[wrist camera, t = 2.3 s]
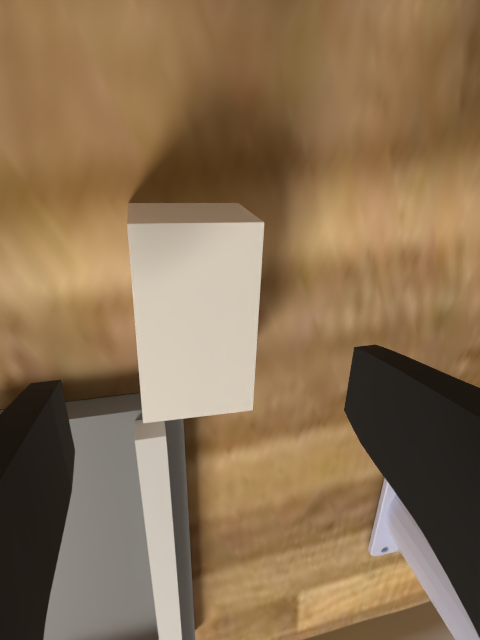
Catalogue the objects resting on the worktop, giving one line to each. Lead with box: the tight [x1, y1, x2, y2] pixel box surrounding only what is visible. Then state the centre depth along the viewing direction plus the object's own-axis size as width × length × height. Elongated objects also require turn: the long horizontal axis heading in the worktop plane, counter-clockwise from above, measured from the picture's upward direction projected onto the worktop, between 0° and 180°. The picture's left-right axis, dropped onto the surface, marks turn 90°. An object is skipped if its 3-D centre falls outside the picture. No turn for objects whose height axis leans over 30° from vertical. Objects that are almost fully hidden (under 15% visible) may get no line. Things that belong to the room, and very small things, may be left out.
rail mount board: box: [0, 393, 195, 640], centre depth 19 cm, size 11×19×4 cm, turn 179°
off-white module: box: [127, 203, 264, 423], centre depth 15 cm, size 4×7×4 cm, turn 178°
